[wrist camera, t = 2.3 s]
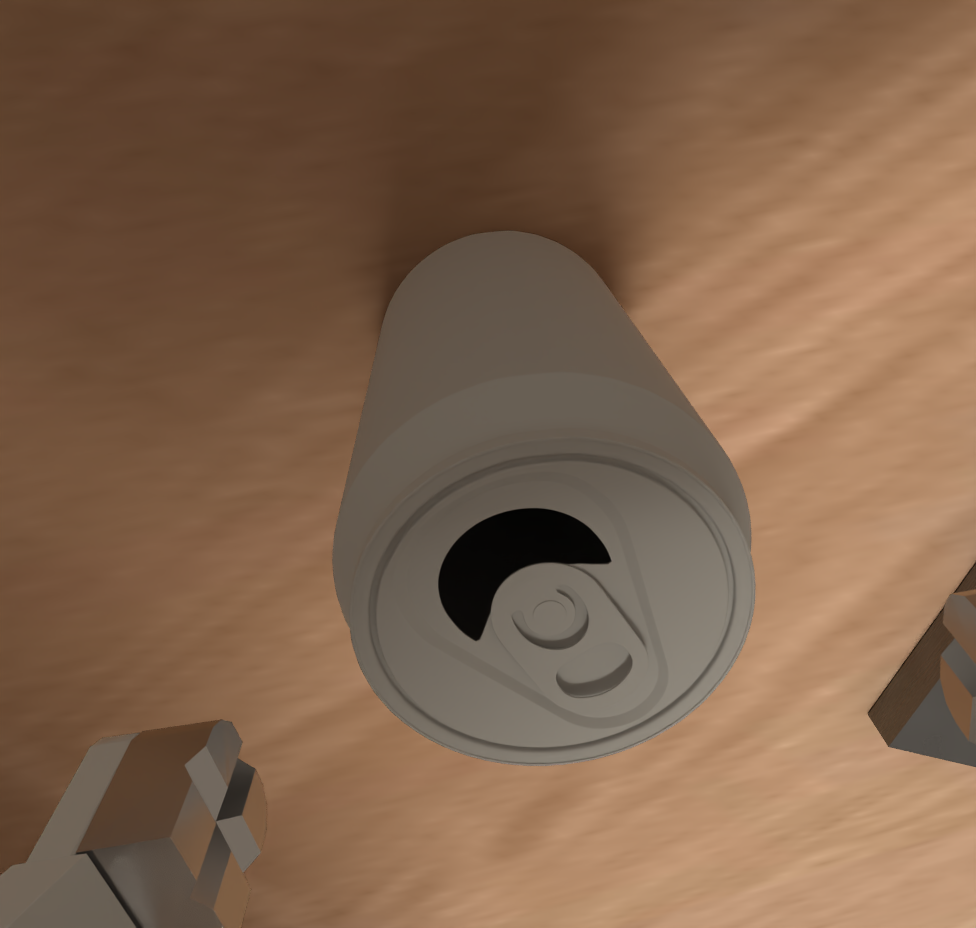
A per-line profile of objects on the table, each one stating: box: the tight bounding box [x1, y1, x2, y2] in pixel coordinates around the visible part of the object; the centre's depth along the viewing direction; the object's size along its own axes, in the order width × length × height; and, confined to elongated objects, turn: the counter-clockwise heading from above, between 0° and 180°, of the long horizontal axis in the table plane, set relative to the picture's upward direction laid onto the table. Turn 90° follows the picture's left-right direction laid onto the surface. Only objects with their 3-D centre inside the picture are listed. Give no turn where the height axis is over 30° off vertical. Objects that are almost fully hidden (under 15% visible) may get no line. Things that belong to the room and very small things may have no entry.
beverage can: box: [332, 231, 755, 766], centre depth 16 cm, size 6×6×12 cm
